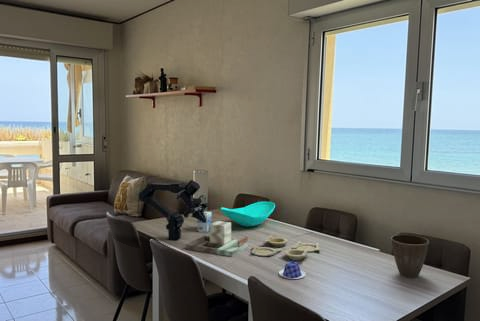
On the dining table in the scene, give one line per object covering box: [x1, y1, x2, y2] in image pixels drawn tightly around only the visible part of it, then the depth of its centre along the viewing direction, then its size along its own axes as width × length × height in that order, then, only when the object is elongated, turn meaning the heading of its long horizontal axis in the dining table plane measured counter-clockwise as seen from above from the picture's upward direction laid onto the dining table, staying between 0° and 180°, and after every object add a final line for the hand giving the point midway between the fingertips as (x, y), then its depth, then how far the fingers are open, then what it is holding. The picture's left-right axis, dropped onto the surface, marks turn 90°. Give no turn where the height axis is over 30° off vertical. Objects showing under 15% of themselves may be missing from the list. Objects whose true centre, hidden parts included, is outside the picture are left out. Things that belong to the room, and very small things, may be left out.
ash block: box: [209, 220, 232, 244], centre depth 208 cm, size 9×8×10 cm
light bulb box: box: [196, 211, 213, 233], centre depth 241 cm, size 11×7×11 cm, turn 168°
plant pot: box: [390, 234, 430, 279], centre depth 165 cm, size 15×15×16 cm
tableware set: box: [251, 234, 322, 261], centre depth 199 cm, size 35×29×4 cm
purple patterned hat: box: [278, 261, 307, 280], centre depth 167 cm, size 12×12×5 cm
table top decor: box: [220, 201, 276, 228], centre depth 251 cm, size 40×28×13 cm
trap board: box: [185, 234, 249, 257], centre depth 205 cm, size 28×19×6 cm
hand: (205, 221), depth 212 cm, fingers closed
